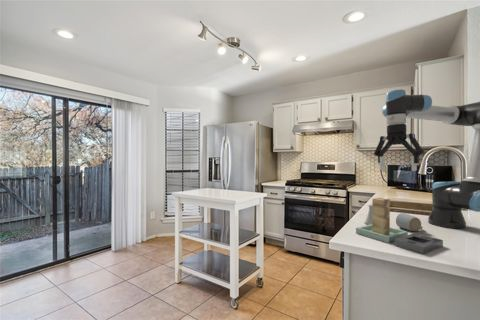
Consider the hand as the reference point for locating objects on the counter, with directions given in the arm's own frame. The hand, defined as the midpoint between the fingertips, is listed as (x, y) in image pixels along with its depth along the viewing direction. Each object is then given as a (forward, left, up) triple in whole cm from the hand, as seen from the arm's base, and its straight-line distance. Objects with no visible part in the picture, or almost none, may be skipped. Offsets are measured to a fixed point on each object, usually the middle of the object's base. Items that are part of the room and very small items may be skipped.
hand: (397, 170), depth 107 cm
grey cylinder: (-15, -2, -30) cm, 34 cm away
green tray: (+7, -4, -30) cm, 31 cm away
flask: (-7, -17, -30) cm, 35 cm away
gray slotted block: (+7, +11, -30) cm, 33 cm away
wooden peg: (+7, -4, -29) cm, 30 cm away
